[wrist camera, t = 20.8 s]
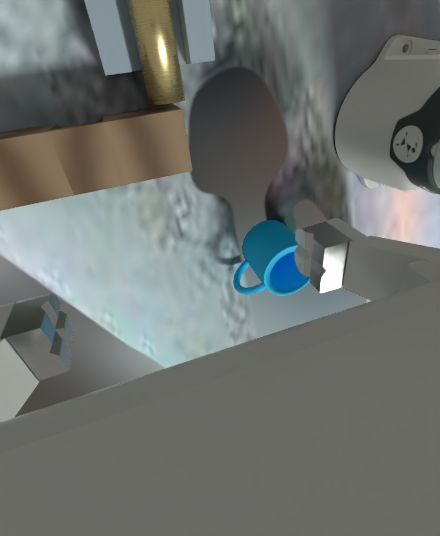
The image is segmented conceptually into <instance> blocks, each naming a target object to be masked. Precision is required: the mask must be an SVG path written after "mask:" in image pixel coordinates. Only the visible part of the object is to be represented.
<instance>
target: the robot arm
mask: <svg viewBox="0 0 440 536" xmlns="http://www.w3.org/2000/svg"><path fill="white" fill-rule="evenodd" d="M403 46H404V49H403ZM402 49H403V51H402ZM335 146H336V151H337V154H338V157H339V159H340V161H341V162H342V164H343V165H344V166H345V167H346V168H347V169H349V170H350V171H352V172H354V173H355V174H357V175H358V177H359V179H360V182H361V183H362V185H363V186H364V187H367V188H374V187H376V186H379V185H381V184H382V185H385V186H388V187H392V188H395V189H398V190H401V191H405V192H412V191H413V190H415V189H418V188H422V189H424V190H425V191H428V192H431V193H434V194H440V41H436V40H430V39H424V38H418V37H412V36H405V35H394V36H392V37H391V38H390V39H389V40H388V41H387V43H386V44H385V46H384V47H383V49H382V51H381V52H380V54H379V56H378V58H377V60H376V61H375V62H374V63H373V65H372V66H371V67H370V68H369V69H368V70H367V71H365V72H364V73H363V74H362V75H361V76H360V78H359V79H358V80H357V81H356V82H355V84H354V85H353V86H352V88H351V89H350V91H349V92H348V94H347V96H346V98H345V100H344V102H343V104H342V106H341V109H340V112H339V115H338V118H337V123H336V129H335ZM295 241H296V242H297V243H298V244H299V245H298V246H297V248H296V250H295V262H296V266H297V268H298V270H299V271H300V272H301V273H302V274H303V275H305V276H308V277H310V283H311V284H312V285H313V286H314V287H315V288H316V289H317V290H318V291H319V292H320V293H322V292H326V291H329V290H333V289H336V288H340V287H342V288H344V289H346V290H348V291H350V292H353V293H355V294H357V295H359V296H362V297H364V298H366V299H369V300H371V302H368V303H365V304H362V305H359V306H355V307H352V308H349V309H347V310H343V311H341V312H337V313H334V314H331V315H328V316H325V317H322V318H319V319H316V320H312V321H310V322H306V323H304V324H300V325H297V326H294V327H291V328H288V329H285V330H282V331H279V332H276V333H273V334H269V335H266V336H263V337H260V338H257V339H254V340H251V341H248V342H245V343H242V344H239V345H236V346H233V347H230V348H227V349H224V350H221V351H218V352H215V353H212V354H208V355H205V356H202V357H199V358H196V359H193V360H190V361H187V362H184V363H181V364H178V365H175V366H172V367H169V368H166V369H162V370H159V371H156V372H153V373H151V374H147V375H144V376H141V377H138V378H135V379H132V380H129V381H126V382H123V383H120V384H116V385H114V386H110V387H107V388H104V389H101V390H98V391H95V392H92V393H89V394H86V395H83V396H80V397H77V398H74V399H70V400H67V401H64V402H61V403H58V404H55V405H52V406H49V407H46V408H43V409H40V410H37V411H34V412H30V413H27V414H24V415H21V416H18V417H15V418H14V416H15V415H16V414H17V413H18V411H19V410H20V408H21V407H22V406H23V404H24V403H25V401H26V400H27V399H28V397H29V396H30V394H31V393H32V391H33V390H34V389H35V387H36V386H37V385H38V383H39V381H40V380H42V379H46V378H49V377H51V376H54V375H58V374H61V373H64V372H67V371H69V367H70V360H71V352H70V350H69V349H68V348H69V346H70V345H71V344H72V343H73V336H74V334H73V327H72V324H71V321H70V319H69V317H68V315H67V314H66V313H64V312H62V311H59V310H60V305H61V303H60V301H59V300H58V298H57V297H56V295H54V294H52V293H51V294H47V295H43V296H39V297H35V298H31V299H26V300H22V301H18V302H13V303H10V304H6V305H3V306H0V536H440V249H438V248H432V247H427V246H422V245H417V244H412V243H406V242H401V241H396V240H391V239H385V238H380V237H375V236H368V237H367V236H365V235H364V234H362V233H360V232H359V231H357V230H356V229H354V228H353V227H351V226H350V225H348V224H346V223H345V222H343V221H342V220H340V219H337V218H334V219H331V220H328V221H324V222H322V223H318V224H315V225H311V226H308V227H304V228H301V229H297V231H296V234H295Z"/></svg>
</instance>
